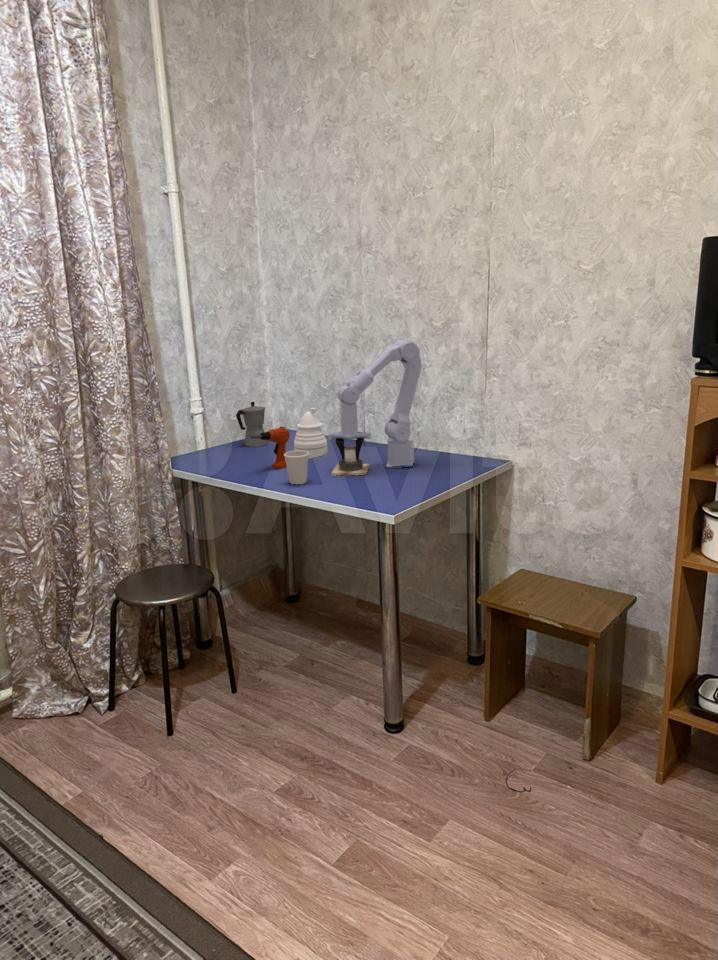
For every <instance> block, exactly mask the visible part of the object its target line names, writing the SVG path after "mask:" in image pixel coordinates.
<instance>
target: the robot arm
mask: <svg viewBox="0 0 718 960" xmlns="http://www.w3.org/2000/svg"><path fill="white" fill-rule="evenodd" d="M420 352H421V349H420V348H419V346H418V345H417V343H415V342H414V341H412V340H405V339H402V338H398V339H395V340H394V341H393V342H392V344H391V343H390V344H389V345H388V346H386V349H385V350H384V351H383V352H382V353H381V354H380V355H379V356H378V357H377V358H376V359H375V360H374V362H372V363H371V365H370V366H369V367H367V369H361V370H357V371H356V373H355V376H353V377H352V379H349V380H347V381H346V383H345V385H342V386H341V387H340V388H339V389H338V392H337V393H336V396H337V398H338V400H339V405H340V406H339V408H340V409H339V411H340V432H338V431H337V432H329V433H328V441H329V440H335V444H336V447H337V448H338V450H339V452H340V456H341V460H344V447H345V440H355V446H356V460H359V459H360V452H361V449H362V446H363V443H364V441H365V439H366V440H371V439H372V434H371V433H372V432H365V431H364V432H363V431H359V430H358V429H359V428H358V424H359V423H358V405H357V404H358V403H357V402H358V401H359V399H360V396H361V395H362V393H363V392H364V391H365V390H366V389H368V388H369V387H370V386H371V385H372V384H373V383H374V380H375V379H374V378H375V376H376V375H378V374H379V373H380V372H381V371H382V370H384V368H385V367H387V366H388V365H389V364H390V363H391V362H397V361H400V362H401V364H402V366H403V367H404V373H403V376H402V380H401V385H400V388H399V392H398V396H397V401H396V404H395V407H394V411H393V412H392V414H391V415H390V416H389V419H388V421H387V422H386V424H385V425H384V432H385V434H386V436H387V462H386V466H385V467H386V468H393V467H392V466H400V465H413V463H414V464H415V460H416V459H415V448H414V446H415V445H414V440H409V438H410V437H411V433H412V432H411V418H410V413H411V408H412V406H413V402H414V397H415V394H416V390H417V385H418V382H419V379H420V376H421V375H420V374H421V371H422V361H421V356H420ZM413 466H414V465H413Z"/></svg>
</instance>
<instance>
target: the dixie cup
mask: <svg viewBox="0 0 718 960" xmlns="http://www.w3.org/2000/svg"><path fill="white" fill-rule="evenodd" d="M308 455H309V452H307V451H301V450H297V451H294V450H290V451H286V453H285V454H284V456H285V461H286V466H287V467H286V471H287V476H288V480H289V481H288V482H289V484H290V483H291V484H290V485H293V484H296V485H295V486H297V484H300V485H304V483H305V484H306V483H307V482H308V467H309V458H308Z"/></svg>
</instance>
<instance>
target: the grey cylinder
mask: <svg viewBox="0 0 718 960" xmlns="http://www.w3.org/2000/svg"><path fill="white" fill-rule="evenodd" d="M344 463H347V464H352V463H357V460H356V445H344Z"/></svg>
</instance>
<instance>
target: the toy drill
mask: <svg viewBox="0 0 718 960" xmlns="http://www.w3.org/2000/svg"><path fill="white" fill-rule="evenodd" d="M290 436H291V433H290V431H289V430H288V429H286V428H285V427H284V426H279V427H278V428H277V427H276V428H272V429H269V430H267V431H264V433H261V434H260V435H256V436H251V437H250V438H251V439H253V438H260V439H262V440H266V441H269V442H273V443H275V447H274V450H273V453H274V454H275V461H274V462H273V463H272V464H271V466H270V467H271V469H275V470H279V469H285V468H287V466H286V461H285V456H284V454H285V453H286V452H287V451H286V449H287V448H286V443H287V442H288V441H289V439H290Z"/></svg>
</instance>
